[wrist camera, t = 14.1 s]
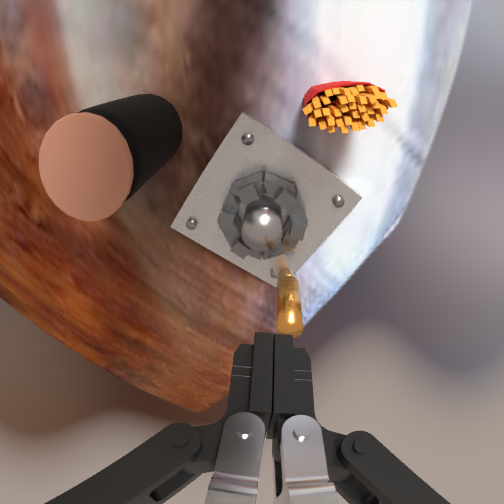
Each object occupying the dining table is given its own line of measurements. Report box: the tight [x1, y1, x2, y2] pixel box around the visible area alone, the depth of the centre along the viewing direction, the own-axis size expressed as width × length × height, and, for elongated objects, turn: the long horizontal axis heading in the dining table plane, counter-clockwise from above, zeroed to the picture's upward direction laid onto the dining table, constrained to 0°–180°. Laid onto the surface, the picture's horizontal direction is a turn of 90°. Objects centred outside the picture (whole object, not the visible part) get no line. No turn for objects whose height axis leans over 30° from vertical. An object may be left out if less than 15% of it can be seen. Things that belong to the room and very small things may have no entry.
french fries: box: [302, 81, 397, 133], centre depth 30 cm, size 9×4×13 cm, turn 106°
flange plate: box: [171, 111, 362, 288], centre depth 41 cm, size 20×20×8 cm
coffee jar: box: [39, 94, 182, 221], centre depth 32 cm, size 11×11×18 cm
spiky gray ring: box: [217, 172, 308, 338], centre depth 39 cm, size 17×11×13 cm, turn 22°
